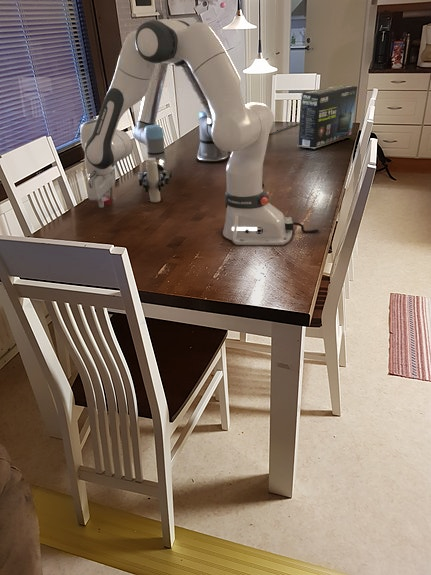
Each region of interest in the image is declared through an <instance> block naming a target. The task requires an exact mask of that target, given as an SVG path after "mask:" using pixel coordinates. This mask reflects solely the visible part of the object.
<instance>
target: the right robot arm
mask: <svg viewBox="0 0 431 575" xmlns="http://www.w3.org/2000/svg"><path fill="white" fill-rule="evenodd" d="M178 61H185V62H186V63H187V64H188V66H189V68H190V69H191V71H192V73H193V75H194V77H195V79H196V81H197V82H198V84H199V86H200V88H201V90H202V92H203V94H204V96H205V98H206V100H207V102H208V105H209V108H210V112H211V116H212V122H213V124H212V130H211V135H212V139H213V142H214V143H215V145H216V146H217V147H218V148H219V149H220V150H222V151H225V152H227V153H230V157H229V158H228V160H227V163H226V168H225V177H226V178H225V179H226V180H225V181H226V182H225V183H226V190H225V194H224V205H225V209H226V210H225V218H224V219H225V220H224V226H223V229H222V235H223V237H225V239H228V240H230V241H232V243H233V244H234V245H236V246H283V245H286V244H288V243H289V242H290V240H291V239H292V237H293V231H294V226H299V227H300V229H301V230H300V231H301V232H302V233H304V234H312V233H318V232H319V229H318V228H316V229H310V230H305V227H304V225H303V224H302V223H300V222H295V221H293V217H292V216H285V215H284V213H283V212H282V211H280V210H279V209H278V208H277V207H276V206H275V205H272V204H271V203H270V202H269V194H270V192H269V191H267V192H266V191H265V190H263V188H262V183H263V175H264V174H263V169H264V161H265V158H266V152H267V147H268V144H269V143H268V142H269V137H270V135H271V134H270V132H272V129H273V127H274V123H275V116H274V113H273V111H272V110H271V108H270V107H269V106H268V105H266V104H264V103H261V102H248V103H247V104H245V102H244V98H243V95H242V90H241V83H242V81H241V76H240V75H239V73H238V71H237V69H236V67H235V65H234V63H233V60H232V59H231V58H230V55H229V54H228V52H227V50H226V48H225V47H224V45H223V44H222V42H221V40H220V39H219V36H217V35H216V33H215V32H214V31H213V29H212V28H211V27H210V26H209V25H208V24H207V23H205V22H202V21H198V22H194V23H192V24H190V23H188V22H186V21H183V20H175V19H170V18H162V19H160V18H159V19H150V20H147V21H145V22H143V23H141V24H140V25H139V27H138V28H137V29H136V30H133V31H131V32H129V33H128V34H127V35H126V37H125V40H124V42H123V44H122V46H121V49H120V52H119V55H118V59H117V63H116V67H115V72H114V74H113V77H112V81H111V84H110V86H109V88H108V91H107V92H106V95H105V97H104V99H103V102H102V104H101V107H100V110H99V113H98V116H97V118H96V119H92V120H88V121H85V122H83V123H82V124H81V125H80V129H79V130H80V142H81V147H82V150H83V152H84V163H85V168H86V174H87V175H88V178H87V179H86V193H87V198H88V201H91V202H93V201H94V202H96V201H97V205H98V207H99V208H104V207H105V206H106V205H105V202H103V197H110V198H111V189H112V187H114V186H115V184H116V182H117V181H116V180H117V178H116V169H115V166H116V163H118V162H120V161H122V160H124V159H125V158H127V157H129V156H130V155H131V154H132V153H133V146H134V145H133V140H132V138H131V136H130V135H129V134H128V133H127V132H126V131H124V130H119V129H117V128H118V126H119V122H120V120H121V118H122V117H123V116H124V114H125V113H126V112H127V111H129V109H130V108H132V107H133V106H135V105H136V104H138V103H139V102H141V101H142V99H143V98H144V96H145V95H146V93H147V91H148V89H149V86H150V83H151V80H152V76H153V72H154V68H155V66H156V64H157V63H170V64H174V62H178ZM269 134H270V135H269Z"/></svg>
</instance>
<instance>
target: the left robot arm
mask: <svg viewBox="0 0 431 575" xmlns="http://www.w3.org/2000/svg"><path fill="white" fill-rule="evenodd" d="M170 64H171V63H157V64H156V66H155V68H154V72H153V76H152V80H151V83H150V86H149V89H148V91H147V93H146V95H145V96H144V98H143V99H141V103H140V104H141V105H140V109H139V113H138V119H137V124H136V125H135V126H134V127H133V128H132V135H133V138H134V139H135V140H136V141H138V142H139V143H141V144H142V145H145V146H146V153H147V158H155V159H156V162H157V168H158V178H159V181H158V189H159V191H160V192H161V191H162V187H165V185H170V181H171V179H172V177H173V175H172V174H173V173H172V170H168V171H166V167H167V158H166V151H165V140H164V138H165V137H164V136H165V135H164V129H163V126H161V124H156V120H157V117H158V112H159V107H160V104H161V100H162V99H161V98H162V94H163V91H164V90H163V89H164V85H165V80H166V76H167V71H168V67H169V65H170ZM173 65H174V66H175V67H177V68H180V70H181V71H182V73H183V75H184V76H185V79H186V80H187V82H188V84H189V86H190V87H191V90H192V91H193V93H194V95H195V97H196V98H197V101H198V102H199V104H200V105H201V107H202V109H203V110H201V111H199V113H198V128H199V147H198V149H197V150H198V151H197V154H196V159H197V162H200V163H204V164H216V163H222V162H225V161H228V160H229V152H225V151H222V150H220V149H219V148H218V147H217V146H216V145H215V143H214V142H213V139H212V135H211V130H212V124H213V122H212V116H211V112H210V108H209V105H208V102H207V100H206V98H205V96H204V94H203V92H202V90H201V88H200V86H199V84H198V82H197V81H196V79H195V77H194V75H193V73H192V71H191V69H190V68H189V66H188V64H187V63H186V62H185V61H178V62H174V63H173ZM137 174H138V185H139V186H140V187H142V188H144V190H145V193H149V186H148V178H147V170H145V172H144V173H143V172H140V171H139V172H138V173H137Z"/></svg>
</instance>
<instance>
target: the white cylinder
mask: <svg viewBox="0 0 431 575" xmlns="http://www.w3.org/2000/svg"><path fill="white" fill-rule="evenodd" d="M145 168H146V171H147V178H148V186H149V188H148V194H149V201H150V202H151V203H159V202H160V201H161V200H162V199H161V198H162V197H161V191H159V189H158V181H159V178H158V168H157V162H156V159H155V158H148V157H147V158H146V162H145Z"/></svg>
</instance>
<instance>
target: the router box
mask: <svg viewBox="0 0 431 575" xmlns="http://www.w3.org/2000/svg"><path fill="white" fill-rule="evenodd" d="M357 93H358V86H356V85H350V84H339V85H338V84H337V85H334V86H328V87H324V88H318V89H314V90H309V91H304V92H301V93H300V109H299V110H300V111H299V122H300V123H299V124H298V137H297V146H298V145H302V146H307V147H317V146H320V145H323V144H325V143H328V142H331V141H333V140H336V139H338V138H341V137H344V136H347V135H351V136H352V133H353V132H352V131H353V125H354V115H355V109H356V99H357ZM311 151H313V150H312V149H311Z"/></svg>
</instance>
